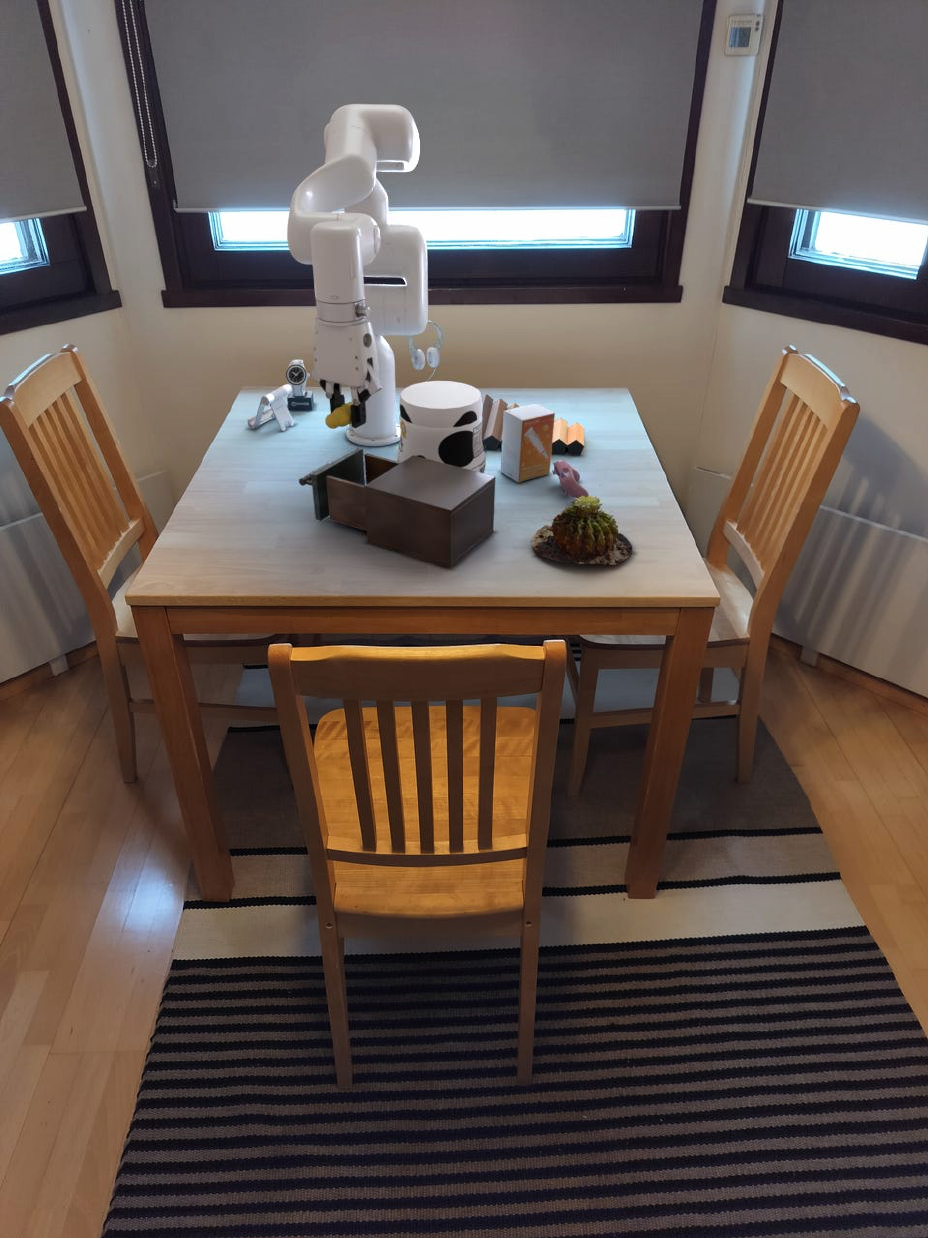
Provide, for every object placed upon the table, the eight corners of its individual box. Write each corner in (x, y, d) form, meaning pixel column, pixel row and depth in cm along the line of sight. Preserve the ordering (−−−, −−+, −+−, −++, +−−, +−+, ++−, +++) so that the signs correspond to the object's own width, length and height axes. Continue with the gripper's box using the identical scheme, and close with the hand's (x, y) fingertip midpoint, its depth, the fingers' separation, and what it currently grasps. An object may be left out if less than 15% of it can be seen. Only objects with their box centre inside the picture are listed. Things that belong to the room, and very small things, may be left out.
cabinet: (367, 542, 144) (364, 485, 137) (414, 509, 154) (412, 455, 148) (450, 569, 137) (450, 510, 131) (493, 532, 147) (495, 476, 141)
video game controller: (559, 487, 166) (546, 458, 162) (580, 477, 165) (567, 448, 161) (569, 510, 158) (555, 480, 154) (591, 499, 157) (577, 469, 153)
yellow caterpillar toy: (341, 433, 136) (340, 413, 134) (322, 428, 137) (321, 409, 135) (372, 417, 142) (371, 397, 140) (354, 412, 143) (353, 393, 141)
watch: (287, 413, 193) (282, 366, 187) (291, 401, 200) (286, 355, 194) (311, 413, 194) (307, 366, 187) (314, 401, 200) (310, 355, 194)
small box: (518, 483, 164) (522, 420, 156) (499, 472, 168) (502, 409, 161) (550, 474, 168) (555, 412, 160) (531, 463, 172) (535, 402, 164)
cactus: (623, 525, 150) (629, 476, 144) (640, 571, 137) (648, 519, 131) (528, 525, 149) (531, 475, 144) (536, 571, 136) (540, 518, 131)
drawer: (291, 512, 151) (286, 466, 146) (337, 484, 160) (333, 441, 155) (387, 542, 142) (385, 494, 137) (429, 511, 152) (429, 465, 147)
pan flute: (478, 407, 198) (466, 448, 178) (478, 393, 196) (466, 433, 176) (583, 412, 196) (583, 455, 176) (584, 398, 194) (584, 440, 174)
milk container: (386, 471, 168) (383, 383, 157) (467, 460, 173) (468, 374, 162) (411, 508, 154) (409, 415, 144) (498, 495, 159) (501, 404, 149)
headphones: (437, 401, 201) (437, 316, 190) (445, 406, 198) (445, 320, 187) (407, 407, 198) (404, 321, 186) (415, 412, 195) (413, 325, 183)
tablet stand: (271, 415, 192) (266, 380, 187) (299, 421, 189) (295, 385, 185) (248, 428, 186) (243, 391, 181) (277, 434, 183) (273, 397, 178)
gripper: (398, 312, 128) (402, 425, 139) (314, 297, 135) (323, 406, 145) (370, 323, 123) (376, 440, 133) (283, 307, 130) (296, 420, 140)
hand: (348, 421), depth 139 cm, fingers closed on yellow caterpillar toy, 3 cm apart
